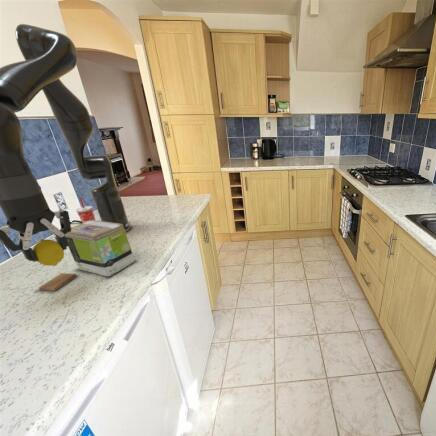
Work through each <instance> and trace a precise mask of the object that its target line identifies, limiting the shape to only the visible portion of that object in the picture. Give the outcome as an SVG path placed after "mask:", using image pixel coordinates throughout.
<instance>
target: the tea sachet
mask: <svg viewBox="0 0 436 436" xmlns="http://www.w3.org/2000/svg"><path fill="white" fill-rule="evenodd" d="M76 277H77V274H76V273H59V274H58V275H56V276H55V277H53V278H52V279H50V280H48V281H47V282H45V283H43V284H42V285H41V286H39V287H38V288H39V290H40V291H54V292H55V291H57V290H59V289H60V288H62V287H64V285H66V284H68V283H69V282H70V281H72V280H74V279H75V278H76Z"/></svg>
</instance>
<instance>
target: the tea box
mask: <svg viewBox="0 0 436 436" xmlns="http://www.w3.org/2000/svg"><path fill="white" fill-rule="evenodd" d="M126 232H127V231H126ZM126 232H125V229H124V226H123V224H119V223H111V222H105V221H101V220H97V219H95V220H91V221H88V222H85V223H79V224H77V225H74V226H71V231H70V232H68V233H66V234H65V239H66V241H67V243H68V246H67V247H68V249H69V251H70V254H71V256H72V259H73V261H74V263H75V266H76V267H77V269H78V270H82V271H85V272H88V273H93V274H97V275H100V276H104V277H108V278H109V277H111V276H113V275H115V274H116V273H118V272H120V271H122V270H123V269H125V268H127V267H129V266H130V265H132V264H133V263H134V262H135V257H134V254H133V251H132V247H131V244H130V241H129V238H128V236H127V233H126Z"/></svg>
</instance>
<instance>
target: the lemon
mask: <svg viewBox="0 0 436 436" xmlns="http://www.w3.org/2000/svg"><path fill="white" fill-rule="evenodd" d="M32 250H33V252H34V253H35V255H36V257H37V259H38V261H36V262H37V263H38V264H40V265H42V266H48V267H49V266H52V267H56V266H58V264H59V263H61V262H62V260H63V259H64V256H65V250H63V248H62V247H61V246H60V244H59V243H57V241H56V240H53V239H45V238H43V239H40V240H39V241H38V242H37V243H35V245H34V246H33V247H32Z"/></svg>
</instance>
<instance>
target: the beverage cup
mask: <svg viewBox="0 0 436 436" xmlns="http://www.w3.org/2000/svg"><path fill="white" fill-rule="evenodd" d="M79 201H80V204H81V207H78V208H76V209H75V212H76V213H77V215H78V218H79V219H80V221H82V223H85V222H88V221H91V220H96V216H95V214H94V210H93V206H91V205H86V206H84V202H83V201H82V198H81V197H79ZM82 223H81V224H82Z"/></svg>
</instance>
